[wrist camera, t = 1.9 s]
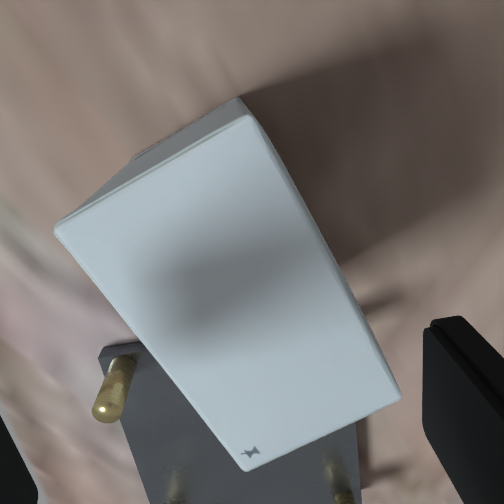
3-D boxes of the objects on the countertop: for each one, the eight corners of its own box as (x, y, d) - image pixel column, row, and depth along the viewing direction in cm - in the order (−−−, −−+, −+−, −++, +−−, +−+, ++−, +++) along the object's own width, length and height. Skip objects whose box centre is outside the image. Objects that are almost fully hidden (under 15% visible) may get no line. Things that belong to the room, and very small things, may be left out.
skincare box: (337, 267, 24) (412, 404, 14) (235, 319, 24) (238, 481, 15) (243, 88, 20) (256, 106, 10) (126, 158, 21) (36, 235, 11)
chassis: (344, 310, 24) (366, 358, 20) (358, 491, 30) (378, 557, 26) (103, 347, 25) (77, 403, 21) (163, 520, 31) (152, 590, 26)
